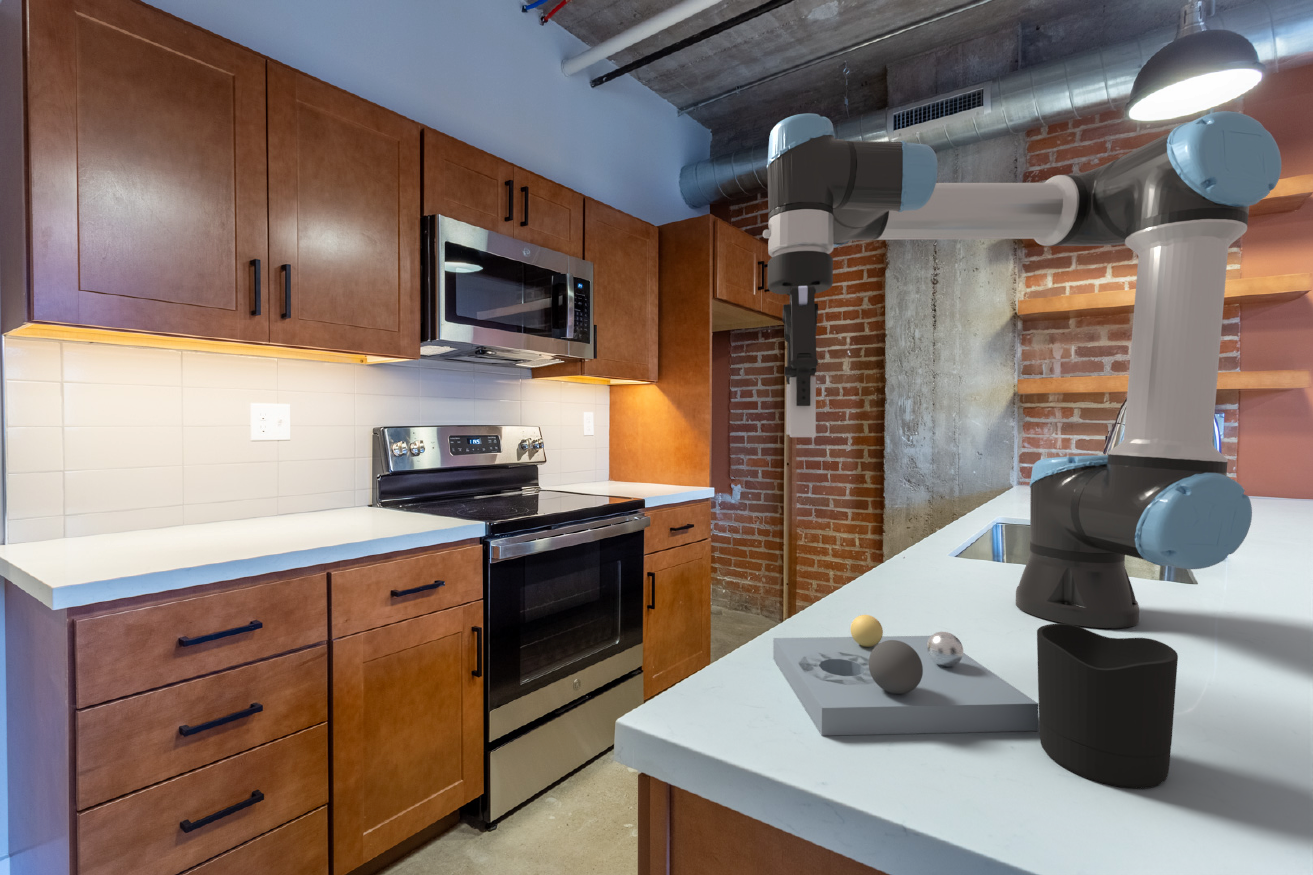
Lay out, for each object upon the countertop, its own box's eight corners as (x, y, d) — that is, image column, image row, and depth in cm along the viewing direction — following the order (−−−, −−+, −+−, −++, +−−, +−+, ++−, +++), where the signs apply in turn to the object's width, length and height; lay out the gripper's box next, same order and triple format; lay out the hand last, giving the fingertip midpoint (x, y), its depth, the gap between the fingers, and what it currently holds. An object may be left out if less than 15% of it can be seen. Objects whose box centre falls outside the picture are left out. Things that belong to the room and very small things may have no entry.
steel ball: (951, 658, 67) (952, 626, 67) (970, 671, 64) (970, 638, 64) (920, 659, 67) (920, 627, 67) (936, 672, 63) (937, 638, 63)
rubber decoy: (908, 680, 61) (908, 632, 61) (932, 702, 57) (933, 650, 57) (860, 681, 61) (861, 633, 61) (880, 703, 56) (881, 651, 56)
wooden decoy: (875, 640, 73) (875, 610, 73) (887, 651, 69) (888, 620, 69) (845, 640, 73) (846, 610, 73) (857, 651, 69) (857, 620, 69)
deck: (938, 656, 75) (938, 635, 75) (1037, 730, 57) (1038, 703, 57) (773, 658, 74) (773, 637, 73) (821, 735, 56) (821, 707, 56)
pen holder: (1103, 729, 57) (1105, 621, 57) (1207, 788, 48) (1210, 660, 48) (1009, 736, 56) (1011, 625, 55) (1098, 799, 46) (1101, 666, 46)
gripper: (768, 281, 87) (767, 433, 87) (767, 225, 62) (767, 438, 63) (823, 278, 85) (823, 433, 86) (845, 221, 61) (844, 438, 61)
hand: (799, 436), depth 74 cm, fingers open, 13 cm apart
